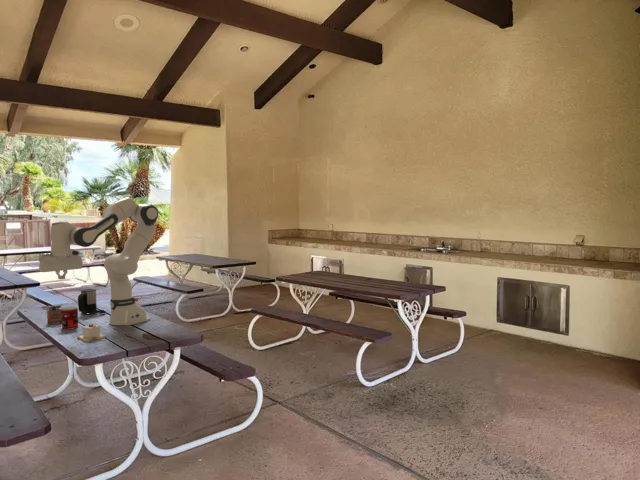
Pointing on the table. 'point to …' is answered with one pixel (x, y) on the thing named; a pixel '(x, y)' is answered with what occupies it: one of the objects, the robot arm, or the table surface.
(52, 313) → the ornate red tin
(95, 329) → the beige hollow cube
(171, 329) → the table surface
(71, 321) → the canned food
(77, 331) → the table surface
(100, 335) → the shaft block
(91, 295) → the milk frother
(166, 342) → the table surface
